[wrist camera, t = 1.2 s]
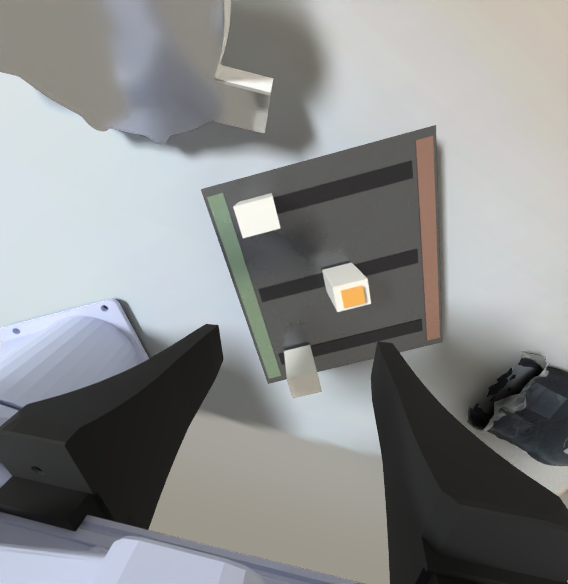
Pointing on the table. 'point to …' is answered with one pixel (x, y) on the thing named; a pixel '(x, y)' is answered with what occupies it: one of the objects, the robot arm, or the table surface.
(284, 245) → the grey slider switch panel
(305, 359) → the block
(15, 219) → the table surface
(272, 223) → the block
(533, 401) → the electronic device
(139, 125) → the tabbed white plastic disc
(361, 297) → the block
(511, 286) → the table surface
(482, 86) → the table surface
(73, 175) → the table surface
